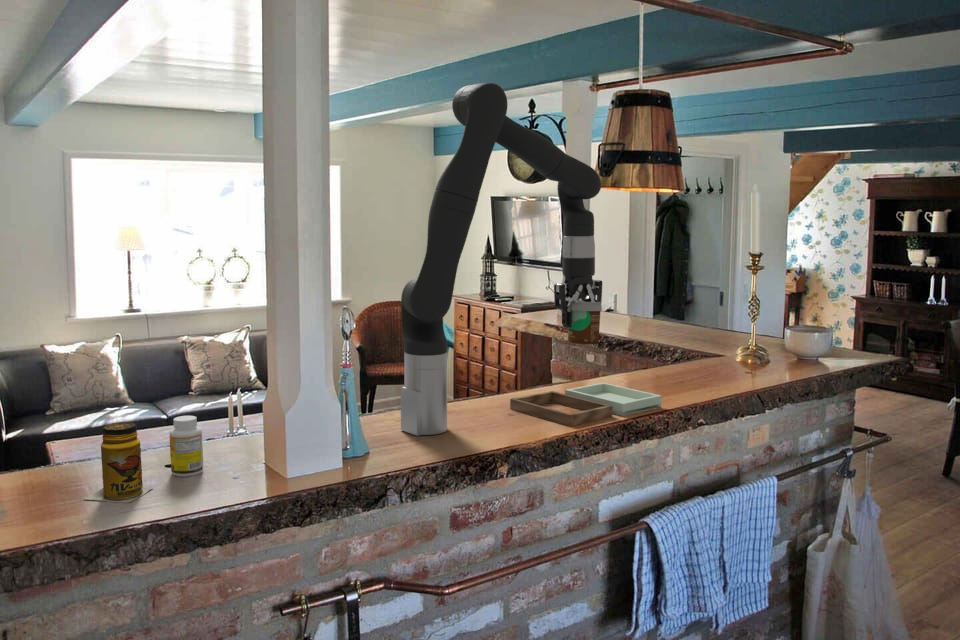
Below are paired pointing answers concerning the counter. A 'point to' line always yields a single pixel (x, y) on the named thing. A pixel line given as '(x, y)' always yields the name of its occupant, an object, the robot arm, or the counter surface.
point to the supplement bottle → (186, 447)
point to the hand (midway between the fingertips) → (578, 325)
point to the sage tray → (618, 398)
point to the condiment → (120, 464)
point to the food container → (585, 322)
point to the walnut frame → (533, 408)
